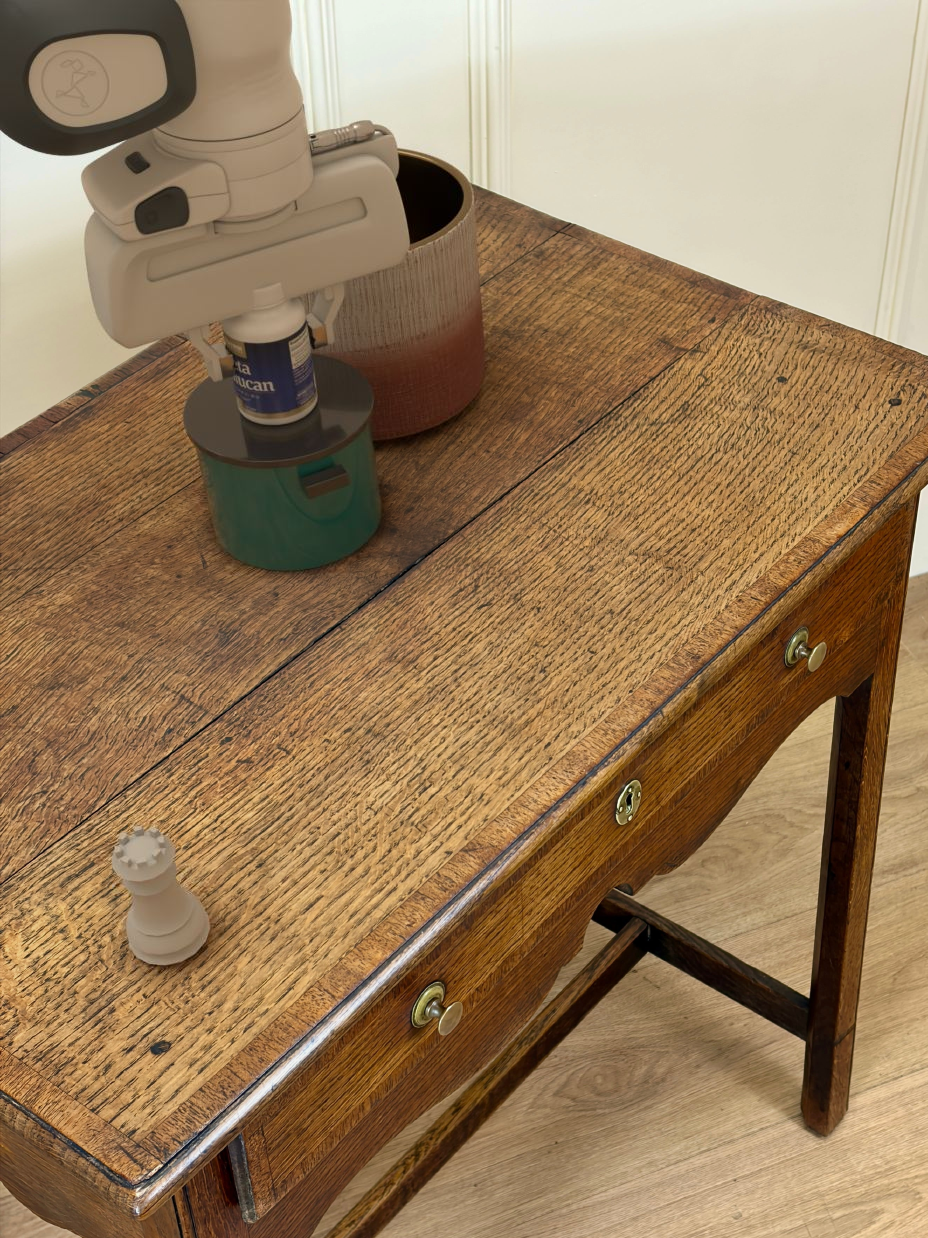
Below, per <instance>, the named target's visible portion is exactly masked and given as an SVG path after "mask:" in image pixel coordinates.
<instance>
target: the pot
mask: <svg viewBox="0 0 928 1238" xmlns="http://www.w3.org/2000/svg"><path fill="white" fill-rule="evenodd" d="M312 360H313V367H314V373H315V380H316V387H317V402H316V404H315V406H314V408H313V409H312V410H311V412H310V413H308V414H307V415H306V416H305V417H303V418H301V419H299V420H297V421H294V422H291V423H288V424H282V425H264V424H259V423H256V422H253V421H251V420H249V419H247V418H246V417H244V416H243V415H242V413H241V412H240V410H239V408H238V404H237V400H236V395H235V390H234V385H233V379H232V377H230V378H227V379H224V380H221V381H218V382H214V381H213V380H212V378H211V377H210V376H209V375H208V376H207V377H206V378H204V379H203V380H202V381H201V382H200V383H199V384H198V385H197V386H195V388H193V390H192V391H191V392H190V394H189V396H188V397H187V399H186V401H185V404H184V407H183V412H182V422H183V427H184V430H185V433H186V436H187V437H188V439H189V441H190V442H191V443H192V444H193V446H194V447H195V452H196V454H197V455H196V456H197V460H198V464H199V468H200V469H199V470H200V473H201V479H202V482H203V487H204V490H205V496H206V499H207V503H208V508H209V512H210V517H211V521H212V525H213V530H214V534H215V537H216V539H217V541H218V543H219V546H221V547H222V549H223V550H224V551H225V552H226V553H227V554H229V555H230V556H231V557H233V558H234V559H236V560H237V561H239V562H241V563H243V564H245V565H248V566H251V567H255V568H258V569H263V570H267V571H268V570H269V571H275V572H276V571H277V572H294V571H295V572H296V571H305V570H313V569H316V568H320V567H324V566H327V565H330V564H333V563H335V562H338V561H340V560H343V559H345V558H346V557H349V556H350V555H352V554H353V553H355V552H356V551H358V550H359V549H361V548H362V547H363V546H364V545H366V543H367V542H369V540H371V538H372V537H373V535H374V534H375V532H376V531H377V529H378V527H379V525H380V522H381V520H382V514H383V513H382V512H383V509H382V500H381V491H380V483H379V475H378V468H377V459H376V451H375V442H373V434H372V426H371V418H372V416H373V412H374V395H373V391H372V388H371V386H370V383H369V382H368V380H367V379H366V378H365V376H364V375H363V374H362V373H360V372H359V371H358V370H357V369H355V368H354V367H352V366H351V365H349V364H347V363H345V362H343V361H340V360H338V359H335V358H332V357H328V356H324V355H318V354H312Z"/></svg>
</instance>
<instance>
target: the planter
mask: <svg viewBox="0 0 928 1238" xmlns="http://www.w3.org/2000/svg"><path fill="white" fill-rule="evenodd" d="M397 150H398V160H399V171H398V175H397V177H396V179H395V180H396V183H397V186H398V189H399V192H400V196H401V200H402V203H403V207H404V212H405V216H406V221H407V227H408V233H409V240H410V247H409V250H408V252H407V254H406V256H405V258H404V259H403V261H402V263H401V264H399V265H397V266H394V267H391V268H388V269H384V270H381V271H378V272H375V273H372V274H368V275H365V276H362V277H359V278H356V279H352V280H349V281H346V282H343V283H344V291H345V297H344V299H343V301H342V304H341V306H340V308H339V310H338V313H337V315H336V317H335V320H334V321H333V322H332V325H333V332H334V340H335V341H334V343H333V344H330V345H327V346H324V347H321V348H318V349H314V350H313V349H312V348H311V353H312V354H318V355H324V356H328V357H332V358H335V359H338V360H340V361H343V362H345V363H347V364H349V365H351V366H352V367H354V368H355V369H357V370H358V371H359V372H360V373H362V374H363V375H364V376H365V378H366V379H367V380H368V382H369V383H370V386H371V388H372V391H373V395H374V412H373V416H372V418H371V426H372V434H373V442H374V443H375V442H385V441H393V440H398V439H404V438H408V437H411V436H415V435H417V434H420V433H423V432H427V431H429V430H431V429H434V428H436V427H438V426H440V425H442V424H444V423H445V422H448V421H449V420H450V419H452V418H454V417H455V416H456V415H458V414H459V413H460V412H462V411H463V410H464V409H466V408H467V407H468V405H469V404H471V403H472V402H473V400H474V399H475V398H476V397H477V395H478V393H479V392H480V390H481V387H482V385H483V382H484V378H485V371H486V349H485V348H486V347H485V334H484V320H483V319H484V318H483V306H482V294H481V293H482V292H481V281H480V280H481V279H480V265H479V254H478V253H479V251H478V237H477V221H476V207H475V206H476V203H475V195H474V189H473V187H472V184H471V181H469V179H468V178H467V176H465V174H464V173H463V172H462V171H460V169H458V168H457V167H455V166H454V165H453V164H452V163H449V162H447V161H446V160H443V159H441V158H439V157H436V156H434V155H430V154H428V153H424V152H420V151H417V150H412V149H406V148H399V147H397ZM317 295H318V291H314V292H311V293H308V294H305V295H301V296H298V298H299V299H300V300H301V302H302V304H303V306H304V309H305V314H306V315H307V314H310V313H312V310H313V307H314V304H315V301H316V298H317ZM310 346H311V345H310Z"/></svg>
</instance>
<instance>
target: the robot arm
mask: <svg viewBox="0 0 928 1238" xmlns="http://www.w3.org/2000/svg"><path fill="white" fill-rule="evenodd" d="M291 9H292V8H291V3H290V0H0V131H1V133H3V134H4V135H5V136H7V137H8V138H9V139H10V140H12V141H13V142H15V143H17V144H19V145H20V146H22V147H24V148H27V149H29V150H32V151H34V152H37V153H41V154H44V155H50V156H58V157H74V156H81V155H86V154H90V153H93V152H96V151H100V150H103V149H105V148H108V147H112V146H114V145H117V144H118V145H117V146H115V147H113V148H112V149H111V150H109V151H107V152H106V153H104V154H103V155H101V156H99V157H98V158H96V159H94V160H92V162H90V163H89V164H87V165H86V166H85V167H84V168H83V169H82V171H81V175H80V182H81V186H82V189H83V192H84V194H85V196H86V199H87V200H88V203H89V204H90V207H91V208H92V209H93V211H94V212H93V213H92V214H91V215H90V217H89V219H88V221H87V223H86V226H85V230H84V235H83V236H84V237H83V247H84V256H85V257H84V259H85V267H86V274H87V281H88V285H89V292H90V296H91V301H92V305H93V308H94V313H95V315H96V318H97V320H98V322H99V324H100V325H101V327H102V329H103V330H104V332H105V333H106V334H107V336H108V337H109V338H110V339H111V340H112V341H114V342H116V344H119V345H120V346H122V347H123V348H125V349H129V350H131V349H135V348H139V347H142V346H145V345H148V344H151V343H154V342H157V341H161V340H164V339H167V338H171V337H174V336H177V335H180V334H183V336H184V337H185V338H186V340H187V341H188V342H189V343H190V344H191V346H193V347H194V348H195V349H196V350H197V351H198V352H199V353H200V354H201V355H202V358H203V362H204V368H205V370H206V373H207V374H208V377H209V376H210V377H211V378H212V380H213V381H214V382H218V381H221V380H224V379H227V378H230V377H233V376H236V369H235V368H234V367H233V365H234V359H233V354H232V353H231V352H230V351H229V350H228V349H227V348H226V343H224V342H223V341H220V342H216V343H213V344H210V342H208V341H207V339H209V338H211V336H212V332H211V328H210V325H211V324H215V323H219V322H221V321H222V320H225V319H228V318H231V317H234V316H238V315H241V314H244V313H247V312H250V311H254V310H253V309H254V308H255V307H254V302H255V300H254V295H253V291H254V290H256V289H259V288H262V287H266V286H269V285H272V284H276V283H281V286H282V292H283V295H284V298H283V299H286V300H289V299H292V298H295V297H298V296H301V295H305V294H308V293H311V292H314V291H318V295H317V298H316V301H315V304H314V307H313V310H312V313H310V314H307V315H306V320H307V327H308V333H309V340H310V345H311V348H312V349H313V350H314V349H318V348H321V347H324V346H327V345H330V344H333V343H334V341H335V340H334V332H333V325H332V322H333V321H334V320H335V317H336V315H337V313H338V310H339V308H340V306H341V304H342V301H343V299H344V297H345V291H344V283H343V282H346V281H349V280H352V279H356V278H359V277H362V276H365V275H368V274H372V273H375V272H378V271H381V270H384V269H388V268H391V267H394V266H397V265H399V264H401V263H402V261H403V259H404V258H405V256H406V254H407V252H408V250H409V247H410V240H409V233H408V227H407V221H406V216H405V212H404V207H403V203H402V200H401V196H400V192H399V189H398V186H397V183H396V180H395V179H396V177H397V175H398V171H399V160H398V150H397V148H398V144H397V140H396V137H395V135H394V134H393V132H392V131H391V130H390V129H389V128H387V127H386V126H384V125H381V124H375V123H373V122H372V120H370V119H363V120H357V121H353V122H351V123H349V125H345V126H342V127H339V128H337V127H336V128H330V129H323V130H321V131H317V132H313V133H309V132H308V125H307V118H306V110H305V104H304V95H303V91H302V88H301V87H302V86H301V84H300V82H299V80H298V78H297V75H296V73H295V71H294V67H293V65H292V59H291V41H292V34H293V17H292V10H291Z"/></svg>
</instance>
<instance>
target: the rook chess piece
mask: <svg viewBox="0 0 928 1238" xmlns="http://www.w3.org/2000/svg"><path fill="white" fill-rule="evenodd" d="M132 830H133V833H131V834H130V835H128V834H127V833H126V832H124V831H123V832H122V833H121V834H120V835H119V836H118V837H117V841H118V845H114V851H113V853H112V856H111V859H110V860H111V868H112V870H113V871H114V872H115V874H116V875H117V877H119V878H122V885H123V886H124V888H125V889H126V890H127V892H129V893H130V895H131V901H132V902H131V905H130V909H129V910H128V914H127V916H126V919H125V931H126V938H127V939H128V947H129V949H130V950H131V952H132V953H133V954H134V956H135V957H136V958H137V959H139V960H141V961H142V962H145V963H147V964H149V965H159V966H171V965H176V964H179V963H182V962H184V961H186V960H188V959H189V958H190V957H192V956H194V955H195V954H196V953H197V952H198V951H199V950H200V948H201V947H202V946H203V945H204V944H205V943H206V941H207V939H208V936H209V934H210V930H211V924H210V918H209V917H210V915H208V913H207V911H206V910H205V909H206V908H205V905H204V904H203V903H202V902H201V900H200V899H199V898H198V897H197V895H196V894H195V893H193V892H191V891H189V890H188V889H187V888H185V887H183V886H182V885H181V884H180V882H179V880H178V878H177V877H176V876H177V874H178V869H177V864H176V863H175V861H174V859H175V856H176V846H175V843H174V842H173V841H172V839H171V838H170V837H169V836H167V835H166V834H163V833H161V832H160V829H159V828H157V827H155V826H153V825H150V827H149V829H148V830H145V829H144V826H143V825H142V824H141V825H137V826H132Z"/></svg>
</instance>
